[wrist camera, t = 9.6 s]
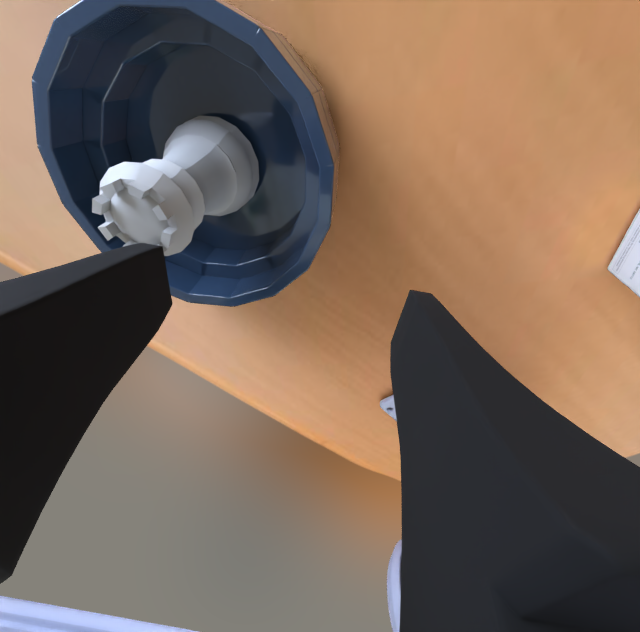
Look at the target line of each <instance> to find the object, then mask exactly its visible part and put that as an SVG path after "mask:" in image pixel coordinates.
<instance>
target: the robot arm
mask: <svg viewBox="0 0 640 632" xmlns="http://www.w3.org/2000/svg"><path fill="white" fill-rule="evenodd" d="M171 306H172V299H171V293H170V287H169V281H168V275H167V269H166V263H165V257H164V251H163V246H158V245H153V244H147V243H137V244H132V245H128V246H124V247H120V248H117V249H113V250H110V251H107V252H103V253H100V254H97V255H94V256H90V257H87V258H84V259H81V260H78V261H74V262H71V263H68V264H65V265H61V266H58V267H54V268H51V269H47V270H44V271H40V272H36V273H33V274H29V275H26V276H22V277H19V278H15V279H11V280H7V281H3V282H0V583H2V582H4V581H5V580H6V579H8V578H9V577H10V576H11V575H12V574H13V571H14V569H15V567H16V565H17V562H18V560H19V558H20V556H21V554H22V551H23V549H24V547H25V545H26V543H27V541H28V539H29V537H30V535H31V533H32V531H33V529H34V526H35V524H36V522H37V520H38V518H39V516H40V514H41V512H42V510H43V508H44V506H45V504H46V502H47V500H48V498H49V496H50V495H51V492H52V491H53V489H54V487H55V485H56V483H57V481H58V479H59V477H60V475H61V474H62V472H63V470H64V468H65V466H66V464H67V462H68V461H69V459H70V457H71V456H72V454H73V452H74V451H75V449H76V447H77V445H78V443H79V441H80V440H81V438H82V436H83V435H84V433H85V432H86V430H87V428H88V427H89V425H90V423H91V422H92V420H93V418H94V417H95V415H96V414H97V412H98V410H99V409H100V407H101V405H102V404H103V402H104V401H105V399H106V398H107V397H108V395H109V394H110V392H111V391H112V390H113V388H114V387H115V386H116V384H117V383H118V382H119V381H120V379H121V378H122V377H123V375H124V374H125V373H126V372H127V370H128V369H129V368H130V366H131V365H132V364H133V363H134V361H135V360H136V359H137V357H138V356H139V355H140V354H141V352H142V351H143V350H144V348H145V347H146V346H147V344H148V343H149V342H150V341H151V339H152V338H153V337H154V335H155V334H156V332H157V331H158V330H159V328H160V326H161V324H162V323H163V321H164V319H165V317H166V315H167V313H168V311H169V310H170V308H171ZM390 362H391V380H392V388H393V395H391V396H389V397H387V398H385V399H382V400H381V401H380V407H381V408H382V409H383V410H384V411H385V412H386V413H388V414H389V415H390V416H391V417H392V418H393V419H395V420H396V421H397V426H398V434H399V442H400V454H401V483H402V484H401V486H402V540H399V542H397V544H396V546H395V548H394V551H393V554H392V556H391V558H390V561H389V566H388V573H387V596H388V607H389V614H390V620H391V625H392V630H393V632H640V467H638V466H637V465H635V464H634V463H632V462H630V461H629V460H627V459H626V458H624V457H622V456H621V455H619V454H618V453H616V452H615V451H613V450H612V449H610V448H609V447H607V446H606V445H604V444H602V443H601V442H599V441H598V440H596V439H595V438H593V437H592V436H590V435H589V434H588V433H586V432H585V431H583V430H582V429H581V428H579V427H578V426H576V425H575V424H574V423H572V422H571V421H569V420H568V419H567V418H565V417H564V416H562V415H561V414H560V413H558V412H557V411H555V410H554V409H553V408H552V407H550V406H549V405H548V404H546V403H545V402H544V401H542V400H541V399H540V398H539V397H537V396H536V395H535V394H534V393H532V392H531V391H530V390H529V389H528V388H526V387H525V386H524V385H523V384H522V383H520V382H519V381H518V380H517V379H515V378H514V377H513V376H512V375H511V374H510V373H509V372H508V371H506V370H505V369H504V368H503V367H502V366H501V365H500V364H499V363H498V362H497V361H496V360H495V359H494V358H493V357H491V356H490V355H489V354H488V353H487V352H486V351H485V350H484V349H483V348H482V347H481V346H480V345H479V344H478V343H477V342H476V341H475V340H474V339H473V338H472V337H471V336H470V334H469V333H468V332H467V331H466V330H465V329H464V328H463V327H462V326H461V325H460V324H459V323H458V322H457V320H456V319H455V318H454V317H453V316H452V315H451V314H450V313H449V312H448V311H447V309H446V308H445V307H444V306H443V305H442V304H441V303H440V302H439V301H438V300H437V299H436V298H435V297H434V296H433V295H432V294H431V293H425V292H419V291H414V290H410V291H409V294H408V297H407V299H406V302H405V305H404V308H403V310H402V313H401V316H400V319H399V322H398V324H397V327H396V330H395V333H394V335H393V338H392V341H391V358H390ZM0 632H199V631H194V630H188V629H183V628H177V627H172V626H166V625H160V624H155V623H149V622H144V621H138V620H133V619H127V618H122V617H115V616H111V615H105V614H99V613H94V612H88V611H83V610H77V609H72V608H66V607H61V606H55V605H49V604H44V603H38V602H33V601H27V600H22V599H16V598H11V597H5V596H0Z"/></svg>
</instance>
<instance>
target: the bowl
mask: <svg viewBox="0 0 640 632" xmlns="http://www.w3.org/2000/svg"><path fill="white" fill-rule="evenodd" d="M32 79H33V80H32V89H33V101H34V113H35V125H36V137H37V144H38V149H39V151H40V153H41V155H42V158H43V160H44V162H45V165H46V167H47V169H48V172H49V174H50V176H51V179H52V181H53V183H54V185H55V188H56V190H57V192H58V195H59V197H60V199H61V202H62V204H64V206H65V208H66V209H67V210H68V211H69V213H70V214H71V215H72V216H73V218H74V219H75V220H76V221H77V223H78V224H79V225H80V226H81V228H82V229H83V230H84V231H85V233H86V234H87V235H88V236H89V238H90V239H91V240H92V241H93V243H94V244H95V245H96V246H97V248H98V249H99V250H100V251H101V252H102V253H103V252H107V251H110V250H113V249H117V248H120V247H123V245H124V244H126V243H125V242H124V241H122V240H121V239H120V238H119V237H117V236H114V237H113V238H111V239H110V240H108V241H107V239H106V238H105V237H104V235H103V234H102V233H101V231H100V230H99V229H98V227H99V226H100V225H102V224H104V223H105V222H106V220H105V217H104V215H103V214H102V215H99V214H96V213H92V198H94V197H97V196H99V195H100V181H101V180H102V178H103V177H104V175H105V173H106V172H107V170H108V169H109V168H111V167H113V166H115V165H117V164H120V163H122V162H136V163H143V162H145V161H148V160H150V159H161V160H162V159H163V154H164V148H165V143H166V141H167V140H168V138H169V137H170V136H171V134H172V133H173V131H174V130H175V129H176V127H177V126H180V125H182V124H184V122H187V121H189V120H191V119H193V118H195V117H198V116H213V117H219V118H221V119H223V120H225V121H227V122H229V123H231V124H232V125H234V126H236V127H237V128H238V129H239V130H240V131H241V133H242V134H243V135H244V136H245V137H246V138H247V139H248V140H249V142H250V143H251V145H252V148H253V150H254V152H255V155H256V157H257V160H258V167H259V182H258V185H257V188H256V191H255V194H254V196H253V197H252V198H251V199H250V200H249V201H248V202H247V203H246V204H245V205H244V206H242V207H241V208H240V209H239V210H238V211H235V212H232V213H229V214H226V215H223V216H212V215H204V216H203V220H202V222H201V223H200V225H199V226H198V227H197V228H196V229H195V230H194V232H193V236H192V240H191V242H190V243H189V244H188V245H187V246H186V248H185V249H184V250H183V251H182V252H179V253H176V254H173V255H170V256H164V257H165V263H166V269H167V275H168V281H169V287H170V293H171V295H172V296H174V297H176V298H179V299H181V300H184V301H186V302H190V303H198V304H209V305H219V306H230V307H233V306H234V307H235V306H238V305H242V304H246V303H250V302H254V301H257V300H261V299H265V298H269V297H273V296H275V295H277V294H278V293H279V292H280V291H282V290H283V289H284V288H285V287H287V286H288V285H289V284H291V283H292V282H293V281H294V280H296V279H297V278H298V277H299V276H301V275H302V274H303V273H304V272H306V271H307V270H308V269H309V268H310V266H311V264H312V262H313V260H314V258H315V256H316V254H317V252H318V250H319V248H320V246H321V244H322V242H323V240H324V238H325V236H326V234H327V232H328V230H329V228H330V226H331V221H332V216H333V212H334V207H335V202H336V198H337V185H338V171H339V156H340V147H339V141H338V138H337V134H336V131H335V127H334V124H333V121H332V117H331V114H330V111H329V107H328V104H327V101H326V97H325V94H324V91H323V89H322V86H321V85H320V84H319V82H318V81H317V80H316V78H315V77H314V76H313V74H312V73H311V72H310V70H309V69H308V68H307V66H306V65H305V64H304V62H303V61H302V60H301V58H300V57H299V56H298V54H297V53H296V52H295V50H294V49H293V48H292V46H291V45H290V44H289V42H288V41H287V40H286V38H285V37H284V36H283V35H282V34H280V33H278V32H277V31H275V30H273V29H272V28H270V27H268V26H267V25H265V24H263V23H261V22H260V21H258V20H256V19H255V18H253V17H251V16H250V15H248V14H246V13H244V12H243V11H241V10H239V9H238V8H236V7H234V6H232V5H231V4H229V3H227V2H225V1H223V0H80V1H79V2H77V3H76V4H75V5H73V6H72V7H70V8H69V9H67V10H66V11H64V12H63V13H61V14H60V15H58V16H57V17H56V19H54V21H53V24H52V27H51V29H50V32H49V34H48V37H47V40H46V42H45V45H44V47H43V50H42V53H41V55H40V58H39V61H38V63H37V66H36V68H35V71H34V74H33V76H32Z"/></svg>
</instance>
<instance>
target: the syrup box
mask: <svg viewBox="0 0 640 632" xmlns="http://www.w3.org/2000/svg"><path fill="white" fill-rule="evenodd" d="M608 270H609V271H610V272H611V273H612V274H613V275H614V276H615V277H617V278H618V279H619V280H620V281H621V282H622V283H624V284H625V285H626V286H627V287H629V288H630V289H631V290H632V291H633V292H634V293H635V294H636V295H637V296H639V297H640V209H639V211H638V213H637V214H636V216H635V218H634V220H633V222H632V224H631V225H630V227H629V229H628V231H627V232H626V234H625V236H624V238H623V240H622V242H621V244H620V246H619V248H618V249H617V251H616V253H615V255H614V257H613V259H612V261H611V262H610V264H609V266H608Z"/></svg>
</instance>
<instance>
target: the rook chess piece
mask: <svg viewBox="0 0 640 632" xmlns="http://www.w3.org/2000/svg"><path fill="white" fill-rule="evenodd" d="M258 182H259V167H258V160H257V157H256V155H255V152H254V150H253V148H252V145H251V143H250V142H249V140H248V139H247V138H246V137H245V136H244V135H243V134H242V133H241V131H240V130H239V129H238V128H237V127H236V126H234V125H232V124H231V123H229V122H227V121H225V120H223V119H221V118H219V117H213V116H198V117H195V118H193V119H191V120H189V121H187V122H184V124H182V125H180V126H177V127H176V129H175V130H174V131H173V133H172V134H171V136H170V137H169V138H168V140H167V141H166V143H165V148H164V154H163V159H162V160H161V159H150V160H148V161H145V162H143V163H136V162H122V163H120V164H117V165H115V166H113V167H111V168H109V169H108V170H107V172H106V173H105V175H104V177H103V178H102V180H101V181H100V195H99V196H97V197H94V198H92V213H96V214H99V215H102V214H103V215H104V217H105V220H106V222H105V223H104V224H102V225H100V226H99V227H98V229H99V230H100V231H101V233H102V234H103V235H104V237H105V238H106V239H107V241H108V240H110V239H111V238H113V237H114V236H117V237H119V238H120V239H121V240H122V241H124V242H125V243H126V244H124V245H123V247H124V246H128V245H132V244H137V243H147V244H153V245H158V246H163V251H164V256H170V255H173V254H176V253H179V252H182V251H183V250H184V249H185V248H186V246H187V245H188V244H189V243H190V242H191V240H192V236H193V232H194V230H195V229H196V228H197V227H198V226H199V225H200V223H201V222H202V220H203V216H204V215H212V216H223V215H226V214H229V213H232V212H235V211H238V210H239V209H240V208H241V207H242V206H244V205H245V204H246V203H247V202H248V201H249V200H250V199H251V198H252V197H253V196H254V194H255V191H256V188H257V185H258Z"/></svg>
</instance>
